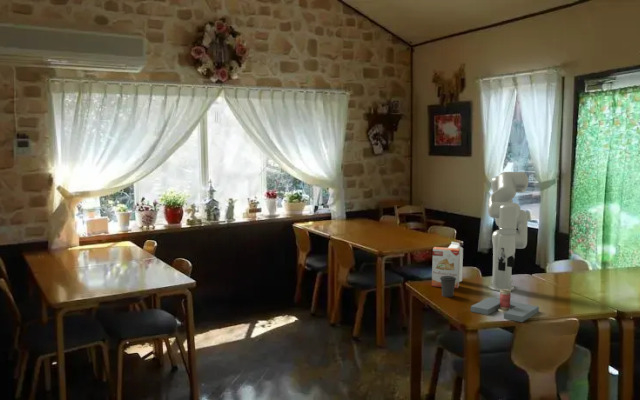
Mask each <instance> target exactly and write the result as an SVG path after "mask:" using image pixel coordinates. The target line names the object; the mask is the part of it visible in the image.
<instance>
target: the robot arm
mask: <svg viewBox="0 0 640 400" xmlns="http://www.w3.org/2000/svg"><path fill="white" fill-rule="evenodd" d="M490 181H491V182H490V183H491V191H492V194H491V195H490V196H489V198H488V202H487V203H488V204H487V213H488V216H489V217H490V218H493V219H495V224H496V226H498V229H496V230H494V231H493V232H492V234H491V241H492V254H493V255H492V282H491V284H489V286H488V288H489V289H490V290H493V291H497V292H500V290H501V289H508V290H511V292H512V291H514V290H515V287H514V285H512V283H513V282H514V280H513V278H512V269H513V268H515V258H516V256H515V255H516V249H519V250H521V249H525V248H526V247H527V245H528V214H527V212H526V211H525V210H523V209H521V207H520V205H519V203H516V202H513V199H514V198H515V197H516V195H517V193H519V194H520V193H525V192H526V191H527V189H528V185H529V177H528V175H527V173H526V172H523V171H503V172H500V174H499V175H497V176H494V177H492V179H491V180H490ZM517 229H518V230H517Z"/></svg>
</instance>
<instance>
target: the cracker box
mask: <svg viewBox="0 0 640 400" xmlns="http://www.w3.org/2000/svg"><path fill="white" fill-rule="evenodd" d="M431 267H432V269H431V270H432V271H431V286H432V287H437V288H438V287H439V288H442V287H441V279H440V278H441V277H442V276H452V277H455V278H456V280H455V286H454V289H459V287H460V282H459V271H460V249H457V248H448V247H441V246H440V247H439V246H434V247H433V248H432V265H431Z"/></svg>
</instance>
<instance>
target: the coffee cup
mask: <svg viewBox="0 0 640 400" xmlns="http://www.w3.org/2000/svg"><path fill="white" fill-rule="evenodd" d="M440 279H441V287H440V288H441V296H442V297H444V298H452V297H454V293H455V288H454V286H455V280H456V278H455V277H452V276H442V277H441V278H440Z"/></svg>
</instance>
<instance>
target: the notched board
mask: <svg viewBox="0 0 640 400" xmlns="http://www.w3.org/2000/svg"><path fill="white" fill-rule="evenodd" d="M498 308H501V307H500V298H496V297H486V298H485V299H482V300H480V301H478V302H476V303H475V304H472V305H471V306H470V312H471V313H475V314H481V315H485V316H488V315H490V314H492V313H494V312H496V311H498ZM509 309H510V310H508V311H506V312H505V313H503V319H504V320H509V321H513V322H514V321H515V322H518V323H523V322H525V321H527V320H528V319H530V318H532V317H533V316H534V315H536V314H538V313H539V312H540V306H539V305H533V304H527V303H523V302H517V301H513V300H510V307H509Z"/></svg>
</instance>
